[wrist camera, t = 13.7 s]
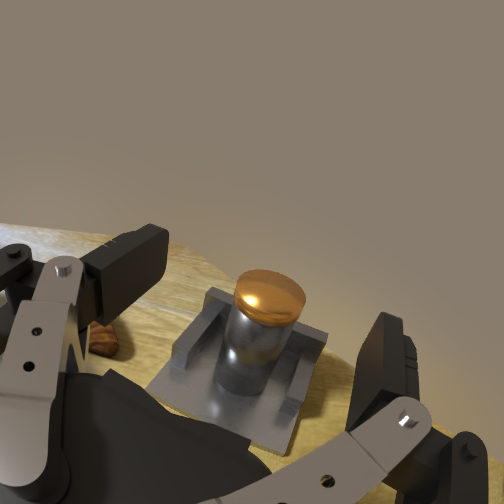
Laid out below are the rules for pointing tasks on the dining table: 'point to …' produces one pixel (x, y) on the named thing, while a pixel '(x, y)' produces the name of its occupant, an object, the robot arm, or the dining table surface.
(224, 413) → the keeper bracket
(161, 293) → the dining table surface
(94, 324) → the croissant
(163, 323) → the dining table surface
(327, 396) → the dining table surface
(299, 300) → the grey and copper cylinder
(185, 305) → the dining table surface
